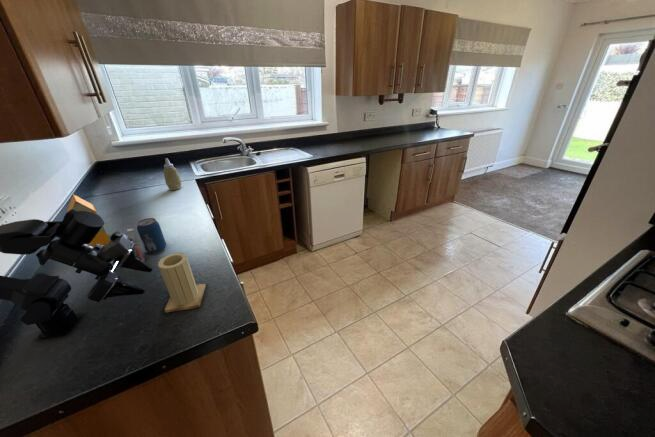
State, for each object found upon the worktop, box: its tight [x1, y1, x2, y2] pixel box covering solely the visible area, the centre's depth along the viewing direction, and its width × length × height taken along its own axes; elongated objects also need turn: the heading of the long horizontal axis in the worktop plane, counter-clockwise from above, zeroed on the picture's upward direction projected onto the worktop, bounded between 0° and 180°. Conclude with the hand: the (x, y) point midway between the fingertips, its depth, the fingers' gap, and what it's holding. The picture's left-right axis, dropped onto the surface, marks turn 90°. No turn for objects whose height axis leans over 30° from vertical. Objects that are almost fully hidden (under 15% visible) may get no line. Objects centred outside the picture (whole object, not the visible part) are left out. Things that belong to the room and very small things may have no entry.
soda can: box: [136, 217, 167, 255], centre depth 99 cm, size 7×7×12 cm
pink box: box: [128, 236, 146, 262], centre depth 93 cm, size 8×3×10 cm, turn 92°
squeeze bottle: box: [163, 157, 182, 191], centre depth 154 cm, size 8×8×18 cm
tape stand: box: [164, 283, 207, 314], centre depth 78 cm, size 9×9×5 cm
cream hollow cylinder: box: [157, 252, 198, 305], centre depth 75 cm, size 7×7×13 cm
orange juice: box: [66, 193, 111, 247], centre depth 102 cm, size 8×9×20 cm
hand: (148, 280), depth 73 cm, fingers open, 9 cm apart
